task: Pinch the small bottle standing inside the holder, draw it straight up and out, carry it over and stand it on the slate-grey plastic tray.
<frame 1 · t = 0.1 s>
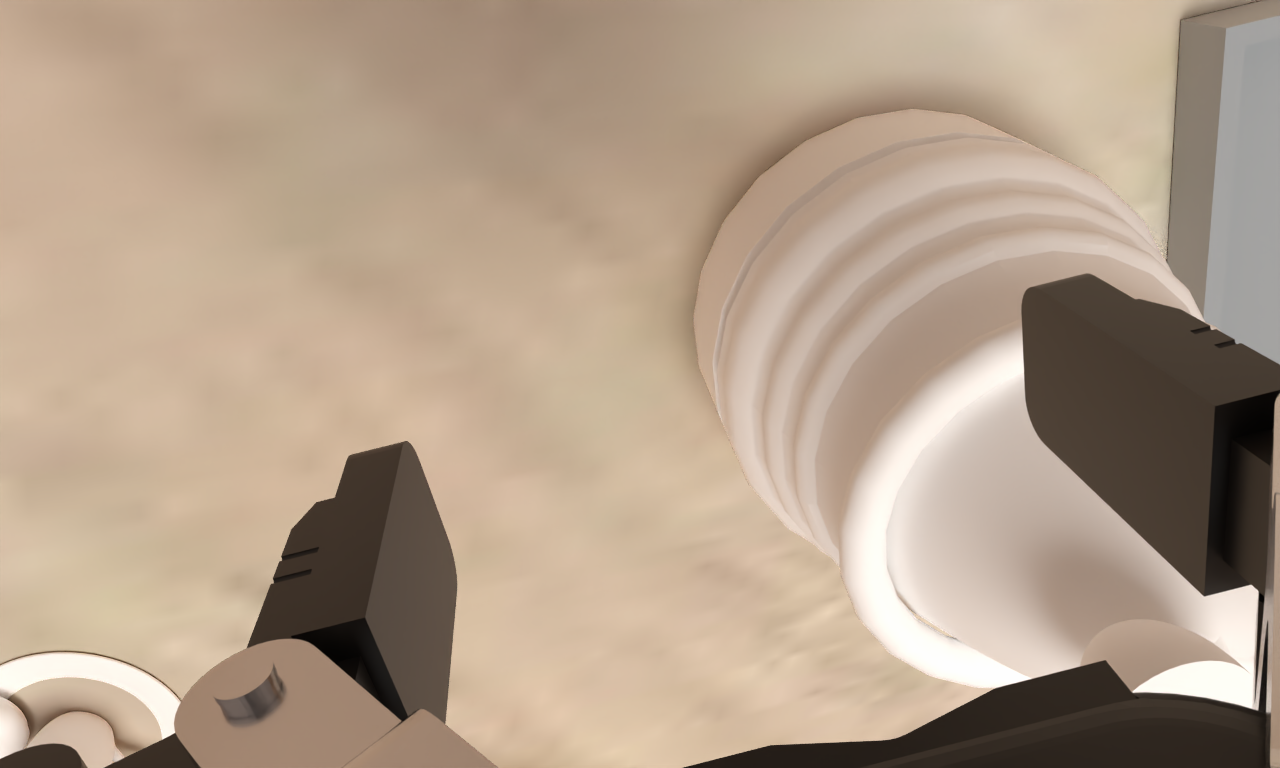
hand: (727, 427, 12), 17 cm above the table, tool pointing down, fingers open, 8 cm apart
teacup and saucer: (53, 659, 34), on the table
honey pot: (884, 307, 32), on the table
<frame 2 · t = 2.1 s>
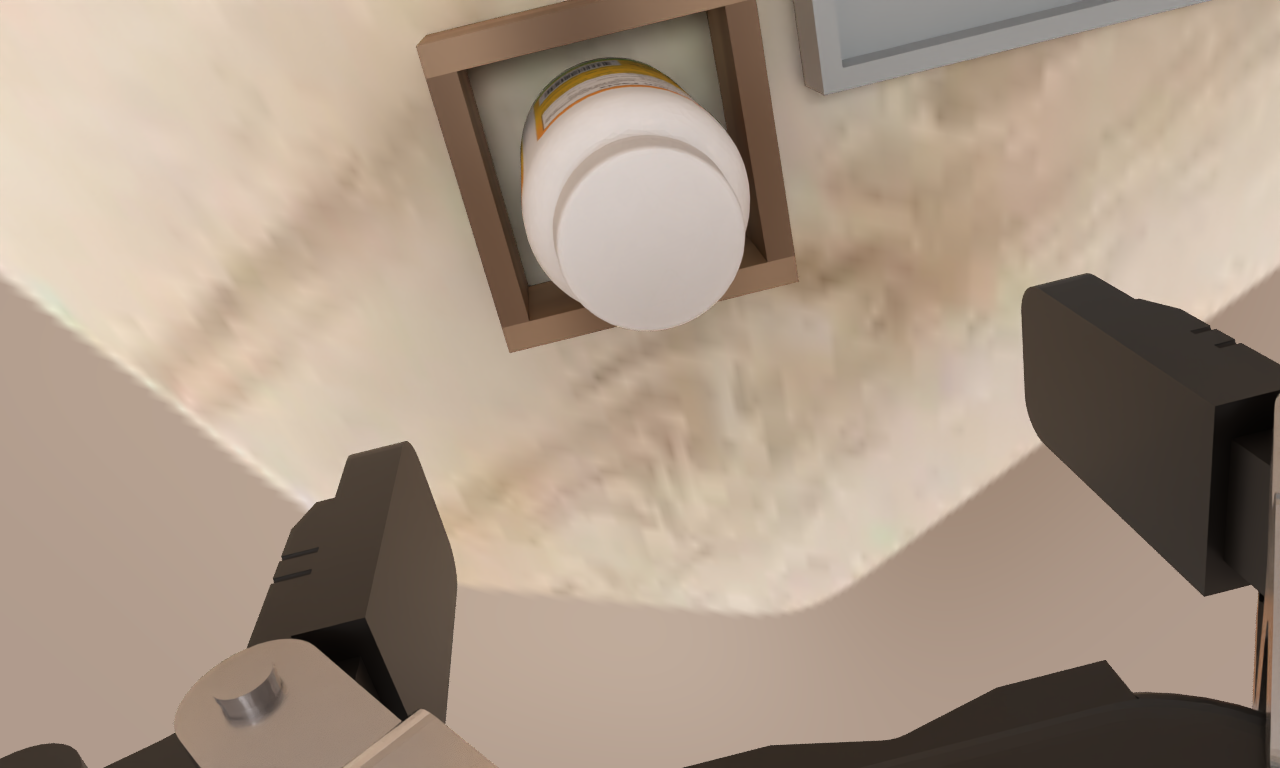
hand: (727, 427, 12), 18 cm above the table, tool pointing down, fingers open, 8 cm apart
holder: (611, 150, 29), on the table
supplement bottle: (611, 148, 29), resting in holder
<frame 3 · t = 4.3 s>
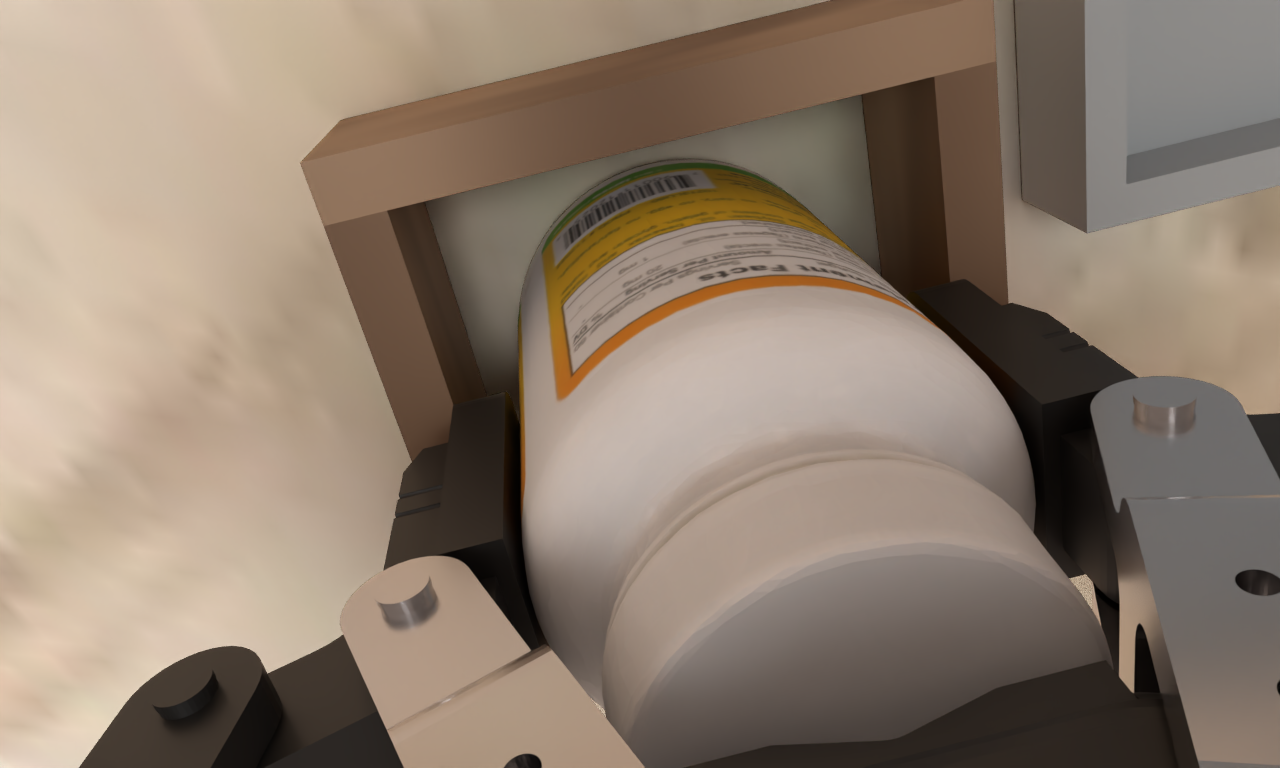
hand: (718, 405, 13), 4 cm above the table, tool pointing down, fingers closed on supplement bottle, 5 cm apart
holder: (679, 313, 16), on the table
supplement bottle: (677, 309, 16), resting in holder, touching gripper
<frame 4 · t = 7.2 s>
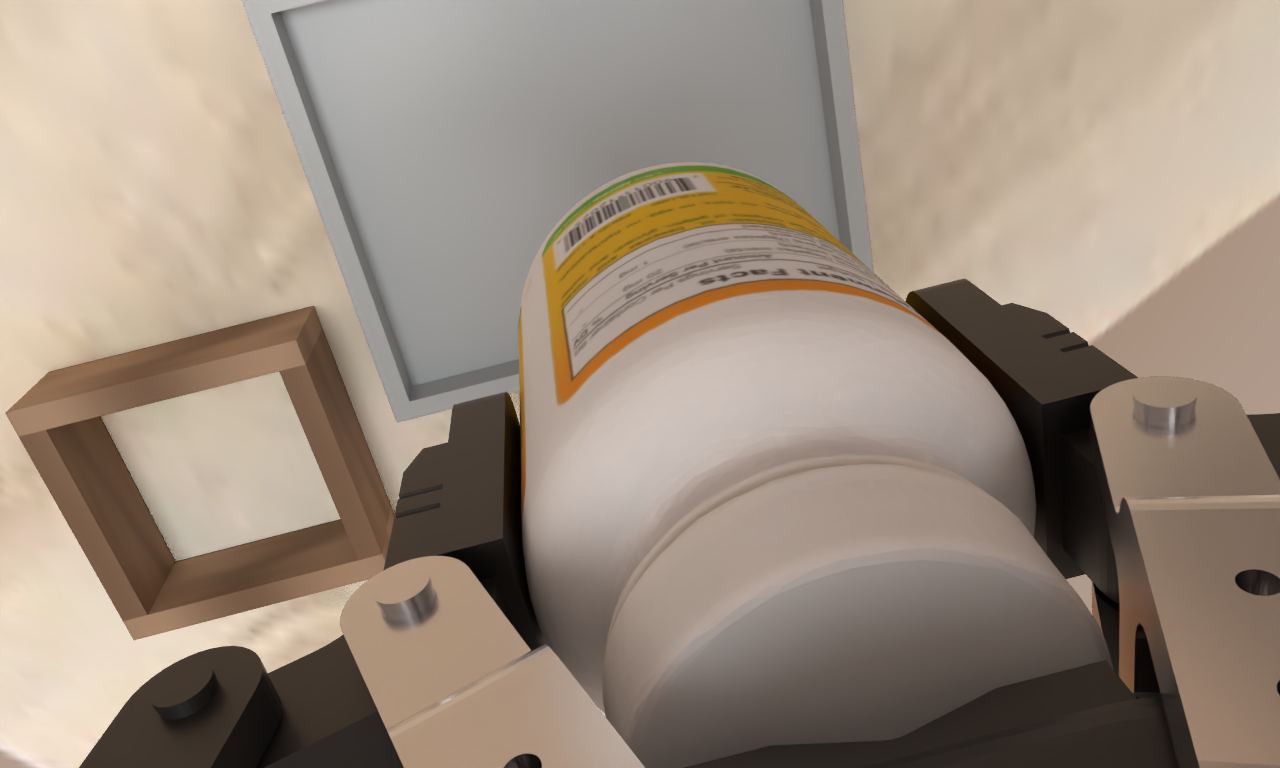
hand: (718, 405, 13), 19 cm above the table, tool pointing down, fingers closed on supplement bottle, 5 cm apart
holder: (234, 453, 33), on the table
supplement bottle: (677, 312, 16), point 15 cm above the table, touching gripper
tray: (586, 151, 30), on the table
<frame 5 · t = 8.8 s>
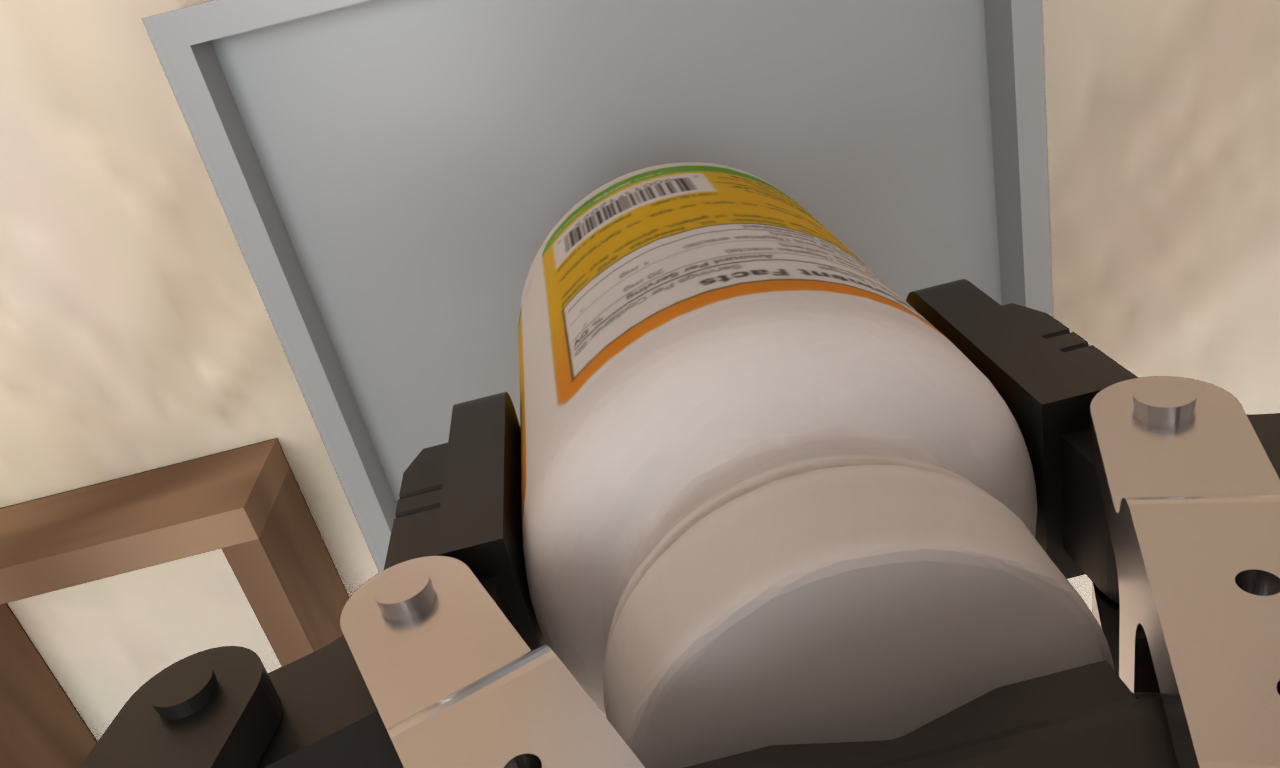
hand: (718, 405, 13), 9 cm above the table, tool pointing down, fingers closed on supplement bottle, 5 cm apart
holder: (176, 624, 24), on the table
supplement bottle: (677, 312, 16), point 5 cm above the table, touching gripper
tray: (654, 227, 21), on the table
when the fingers open (6 cm above the table, at t = 10.3 s): supplement bottle drops 1 cm, resting on tray.
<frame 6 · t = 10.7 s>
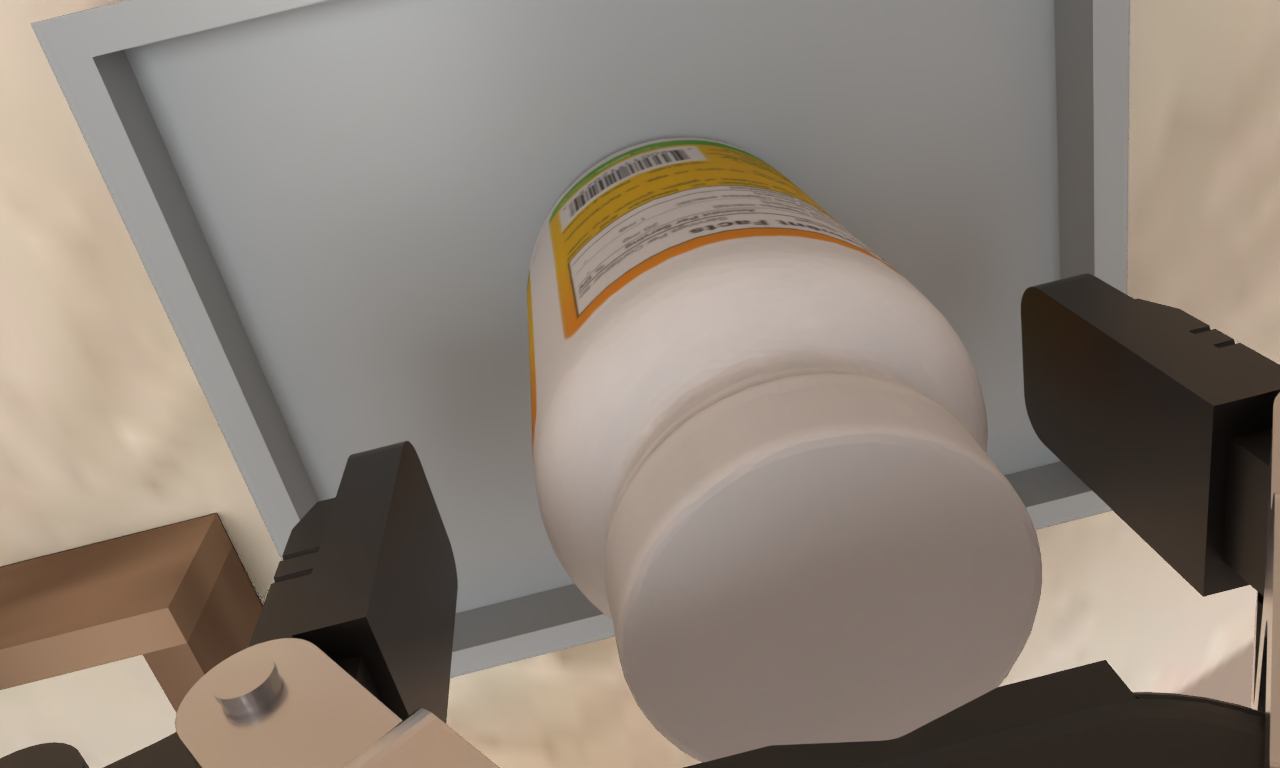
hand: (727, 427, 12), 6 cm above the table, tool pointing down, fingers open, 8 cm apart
holder: (103, 722, 21), on the table
supplement bottle: (673, 278, 18), point 1 cm above the table, touching tray
tray: (659, 272, 18), on the table
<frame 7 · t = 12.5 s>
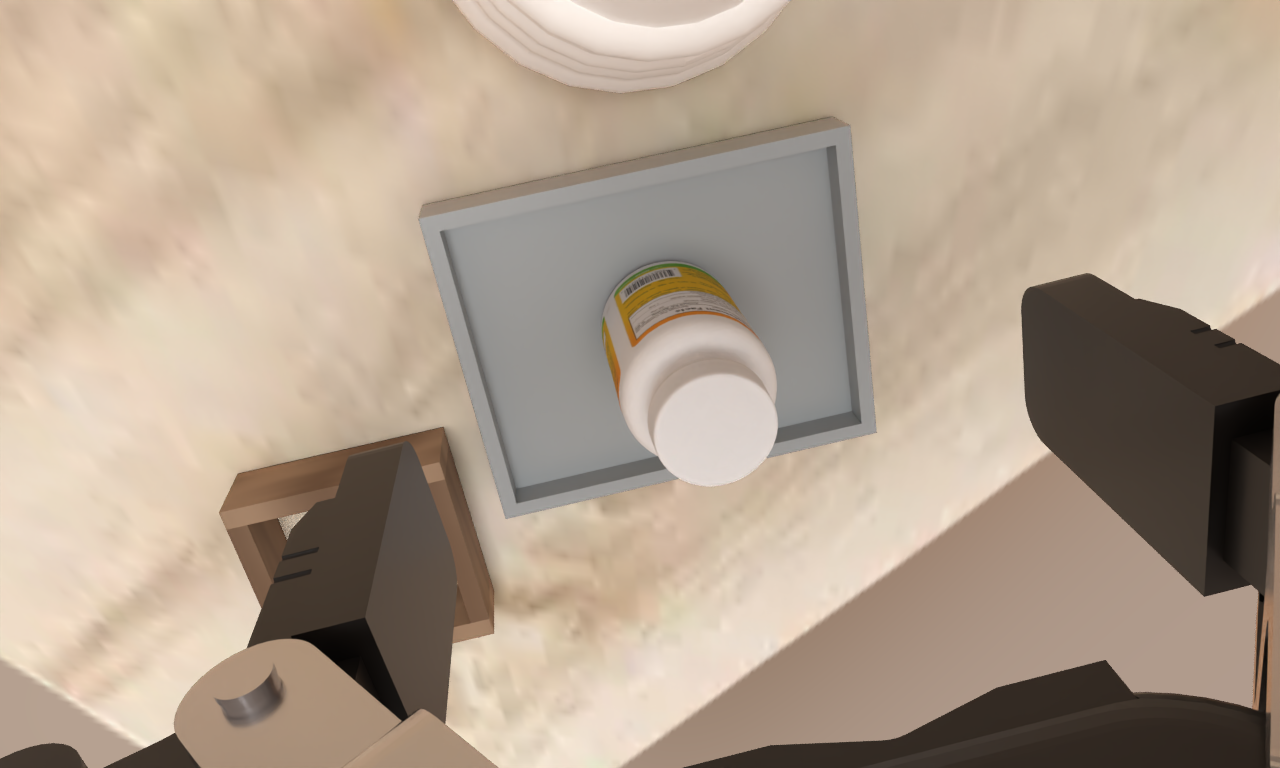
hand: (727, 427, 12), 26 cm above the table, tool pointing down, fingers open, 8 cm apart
holder: (372, 535, 42), on the table
supplement bottle: (665, 320, 39), point 1 cm above the table, touching tray
tray: (658, 317, 39), on the table
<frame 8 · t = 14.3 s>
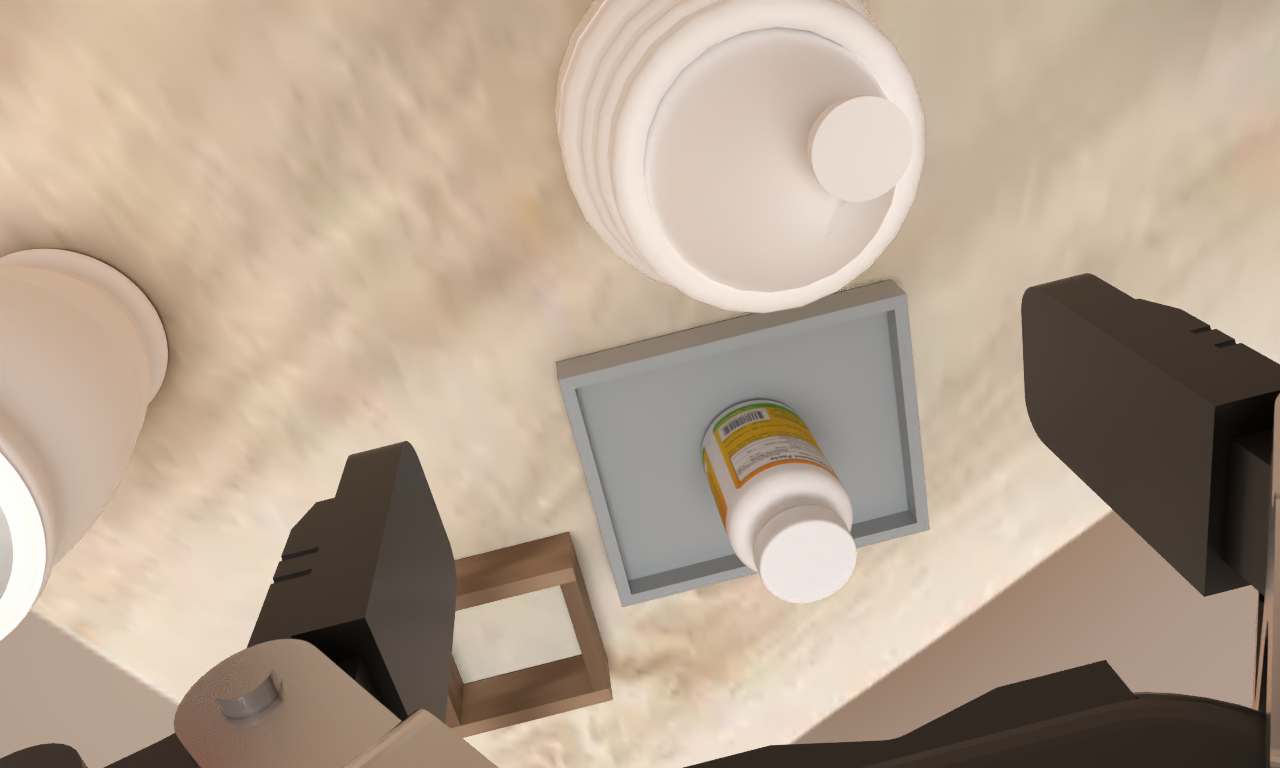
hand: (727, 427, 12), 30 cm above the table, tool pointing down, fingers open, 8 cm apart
holder: (509, 618, 50), on the table
jar: (69, 338, 42), on the table
supplement bottle: (753, 444, 47), point 1 cm above the table, touching tray
honey pot: (706, 109, 41), on the table
tray: (746, 440, 47), on the table
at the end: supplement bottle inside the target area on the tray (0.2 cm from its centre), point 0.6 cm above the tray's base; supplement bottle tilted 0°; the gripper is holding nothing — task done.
